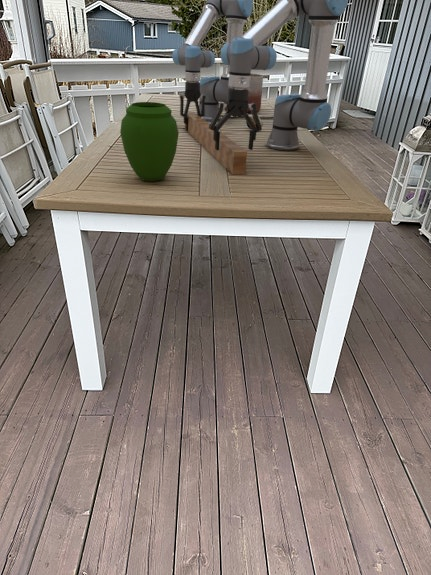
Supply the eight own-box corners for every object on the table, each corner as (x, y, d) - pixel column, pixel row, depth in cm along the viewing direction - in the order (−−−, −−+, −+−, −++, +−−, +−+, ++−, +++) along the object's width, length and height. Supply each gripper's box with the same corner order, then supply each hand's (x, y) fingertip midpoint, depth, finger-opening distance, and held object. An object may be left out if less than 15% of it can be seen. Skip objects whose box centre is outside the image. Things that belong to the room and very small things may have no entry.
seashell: (261, 129, 230) (262, 114, 225) (263, 131, 225) (265, 115, 221) (244, 128, 228) (245, 113, 224) (246, 131, 224) (247, 115, 219)
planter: (264, 113, 274) (268, 77, 262) (227, 113, 270) (229, 75, 258) (255, 107, 295) (258, 73, 283) (220, 106, 291) (222, 72, 279)
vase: (131, 189, 135) (125, 110, 122) (118, 172, 150) (112, 100, 137) (186, 184, 142) (187, 109, 129) (169, 168, 157) (167, 99, 144)
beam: (184, 128, 223) (184, 112, 218) (193, 128, 224) (193, 112, 220) (232, 174, 155) (234, 151, 151) (245, 173, 157) (247, 151, 152)
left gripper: (176, 82, 200) (176, 132, 212) (212, 82, 205) (210, 131, 217) (173, 80, 206) (173, 129, 218) (208, 81, 211) (206, 128, 223)
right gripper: (207, 88, 140) (205, 152, 151) (274, 90, 146) (267, 151, 157) (202, 86, 146) (200, 147, 157) (266, 88, 152) (260, 146, 164)
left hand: (192, 130), depth 218 cm, fingers closed on beam, 5 cm apart
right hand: (233, 149), depth 157 cm, fingers open, 13 cm apart
